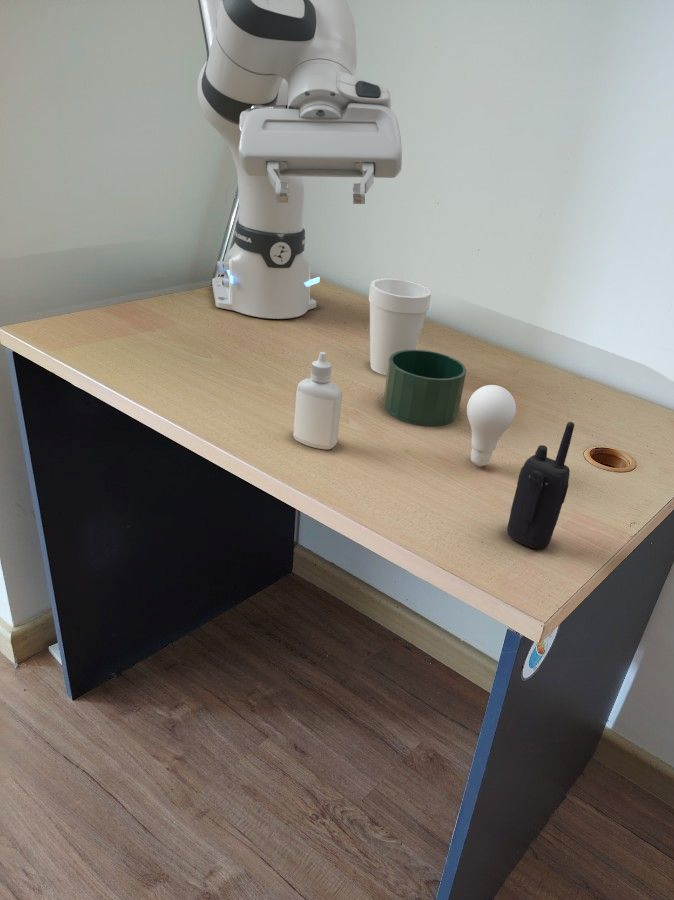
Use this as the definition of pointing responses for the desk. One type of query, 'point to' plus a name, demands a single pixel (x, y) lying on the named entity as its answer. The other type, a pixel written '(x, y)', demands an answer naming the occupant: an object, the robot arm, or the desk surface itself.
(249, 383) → the desk surface
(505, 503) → the desk surface
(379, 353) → the foam cup
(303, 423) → the eye dropper bottle
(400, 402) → the tin
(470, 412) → the lightbulb
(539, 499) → the two-way radio
